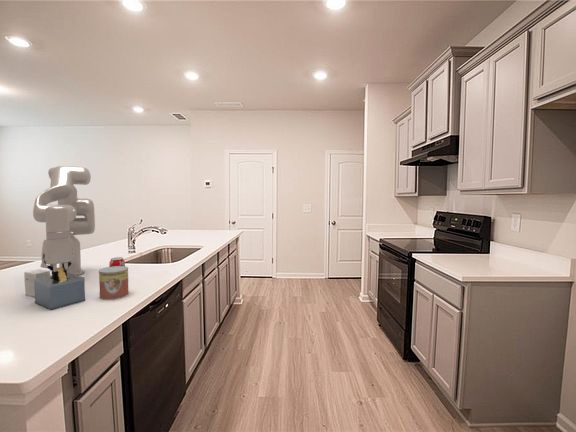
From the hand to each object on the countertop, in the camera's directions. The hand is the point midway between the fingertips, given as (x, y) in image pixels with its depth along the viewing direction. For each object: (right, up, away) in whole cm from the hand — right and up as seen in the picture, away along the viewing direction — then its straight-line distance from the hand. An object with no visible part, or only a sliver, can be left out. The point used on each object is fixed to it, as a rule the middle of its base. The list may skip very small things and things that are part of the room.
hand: (59, 279), depth 119 cm
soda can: (+6, -8, +30) cm, 32 cm away
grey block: (0, -10, +1) cm, 10 cm away
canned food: (+17, -10, +10) cm, 22 cm away
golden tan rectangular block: (+1, -1, -1) cm, 2 cm away
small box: (-16, -9, +8) cm, 21 cm away
